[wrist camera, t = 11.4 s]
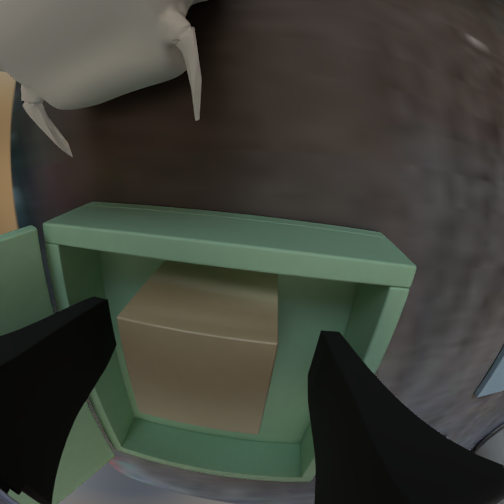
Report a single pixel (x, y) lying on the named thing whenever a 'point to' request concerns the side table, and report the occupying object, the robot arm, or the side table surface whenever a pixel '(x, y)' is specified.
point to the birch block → (202, 345)
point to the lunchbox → (289, 317)
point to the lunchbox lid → (28, 312)
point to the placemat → (493, 378)
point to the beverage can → (493, 448)
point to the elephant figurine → (94, 51)
